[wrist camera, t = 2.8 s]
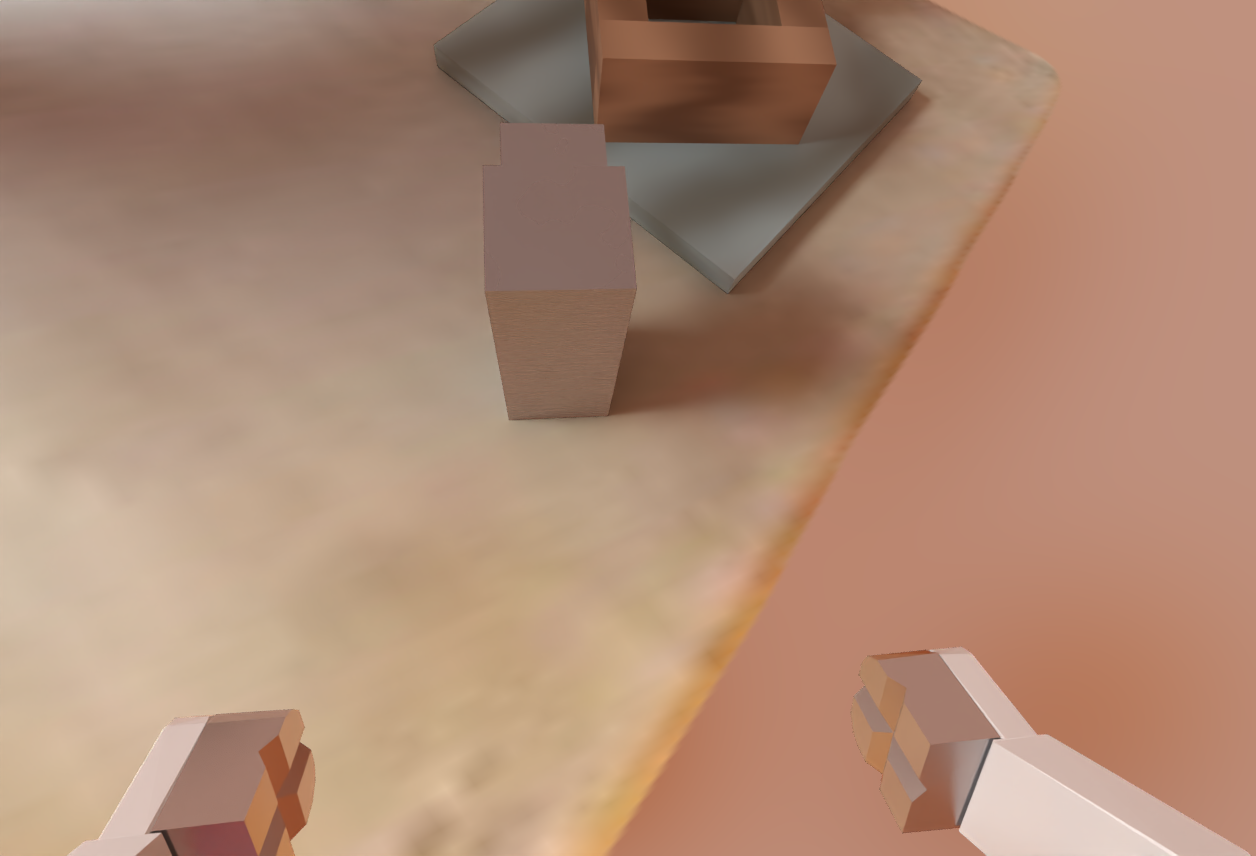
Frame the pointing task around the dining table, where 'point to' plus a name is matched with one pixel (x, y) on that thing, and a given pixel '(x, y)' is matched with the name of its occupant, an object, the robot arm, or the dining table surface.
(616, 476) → the dining table surface
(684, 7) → the wooden square ring bracket
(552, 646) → the dining table surface
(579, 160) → the pin
